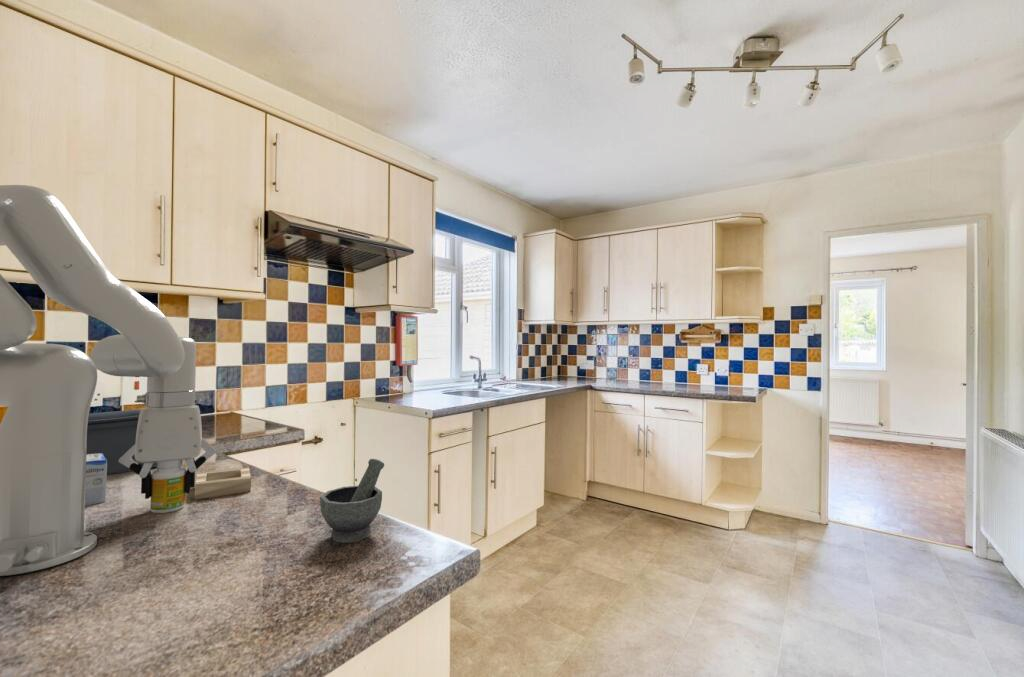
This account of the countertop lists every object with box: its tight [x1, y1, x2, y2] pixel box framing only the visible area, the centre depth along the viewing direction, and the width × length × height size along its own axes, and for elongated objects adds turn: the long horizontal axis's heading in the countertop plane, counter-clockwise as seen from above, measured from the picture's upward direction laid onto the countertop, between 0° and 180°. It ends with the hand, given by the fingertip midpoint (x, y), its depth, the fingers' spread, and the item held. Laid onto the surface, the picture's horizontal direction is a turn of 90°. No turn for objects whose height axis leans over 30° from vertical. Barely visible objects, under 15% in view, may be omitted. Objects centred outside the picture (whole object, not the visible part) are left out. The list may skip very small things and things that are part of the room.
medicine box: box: [85, 453, 108, 507], centre depth 92 cm, size 8×4×9 cm, turn 47°
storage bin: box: [86, 408, 157, 476], centre depth 114 cm, size 21×16×14 cm
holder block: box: [194, 466, 252, 500], centre depth 100 cm, size 10×10×3 cm
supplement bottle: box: [150, 460, 187, 514], centre depth 87 cm, size 5×5×10 cm
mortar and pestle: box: [319, 458, 385, 544], centre depth 77 cm, size 11×9×12 cm
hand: (168, 493), depth 87 cm, fingers closed on supplement bottle, 5 cm apart
